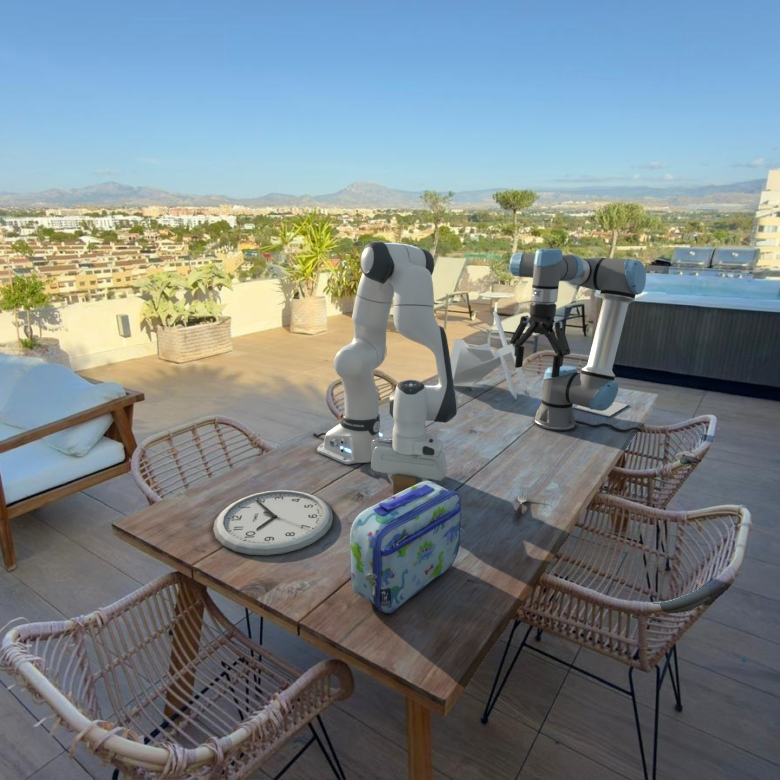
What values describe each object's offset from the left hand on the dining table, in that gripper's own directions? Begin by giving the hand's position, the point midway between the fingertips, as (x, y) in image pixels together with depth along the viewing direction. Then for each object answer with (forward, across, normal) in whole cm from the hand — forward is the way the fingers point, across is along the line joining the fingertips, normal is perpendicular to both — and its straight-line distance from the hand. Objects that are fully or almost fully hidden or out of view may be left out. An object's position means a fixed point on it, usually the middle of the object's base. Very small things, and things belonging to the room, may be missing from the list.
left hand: (407, 489), depth 142 cm
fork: (+5, +30, +8) cm, 31 cm away
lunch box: (+5, +8, -32) cm, 33 cm away
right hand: (-26, +31, +38) cm, 55 cm away
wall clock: (+5, -31, -18) cm, 36 cm away
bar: (+4, 0, +9) cm, 10 cm away
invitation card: (+5, +60, +107) cm, 123 cm away
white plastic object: (+5, +8, +110) cm, 111 cm away
